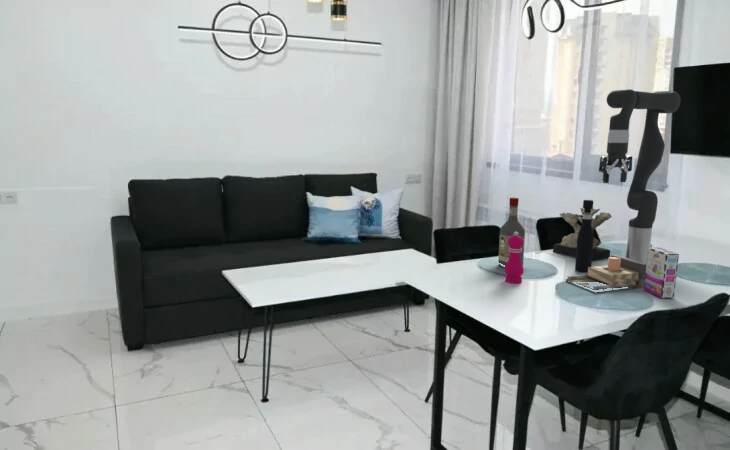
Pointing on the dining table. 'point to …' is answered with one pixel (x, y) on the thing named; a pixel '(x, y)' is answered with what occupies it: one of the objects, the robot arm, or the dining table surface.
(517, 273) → the pepper mill
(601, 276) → the socket block
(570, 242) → the coral
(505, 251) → the liquor
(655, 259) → the candy bar box
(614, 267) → the dowel
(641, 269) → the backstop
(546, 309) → the dining table surface
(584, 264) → the wine bottle
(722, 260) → the dining table surface
